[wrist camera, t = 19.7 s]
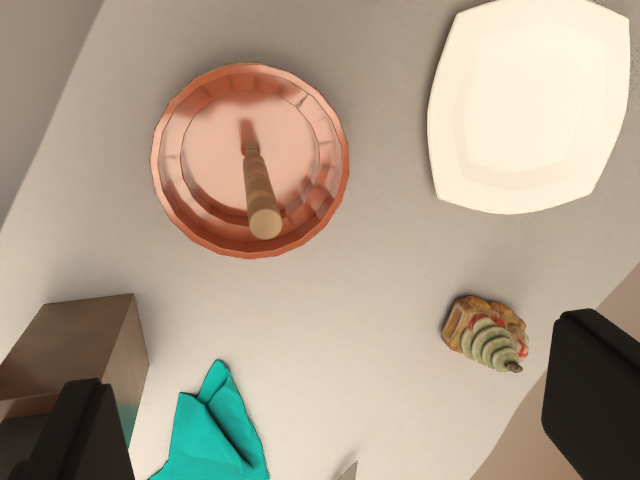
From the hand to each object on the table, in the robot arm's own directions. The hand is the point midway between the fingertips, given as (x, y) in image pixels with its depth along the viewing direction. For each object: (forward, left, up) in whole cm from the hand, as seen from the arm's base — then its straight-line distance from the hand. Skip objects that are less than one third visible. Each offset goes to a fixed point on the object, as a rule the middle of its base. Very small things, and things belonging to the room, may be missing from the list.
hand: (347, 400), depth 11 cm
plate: (+24, 0, -36) cm, 44 cm away
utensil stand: (-17, -18, -36) cm, 44 cm away
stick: (-1, -2, -36) cm, 36 cm away
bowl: (-1, -2, -36) cm, 36 cm away
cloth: (-9, -36, -36) cm, 52 cm away
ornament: (+21, -22, -36) cm, 47 cm away
